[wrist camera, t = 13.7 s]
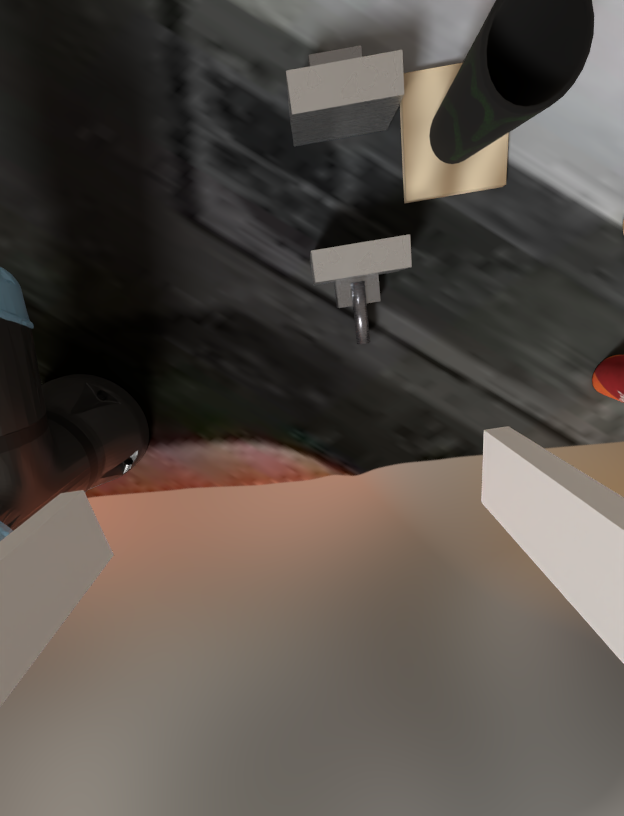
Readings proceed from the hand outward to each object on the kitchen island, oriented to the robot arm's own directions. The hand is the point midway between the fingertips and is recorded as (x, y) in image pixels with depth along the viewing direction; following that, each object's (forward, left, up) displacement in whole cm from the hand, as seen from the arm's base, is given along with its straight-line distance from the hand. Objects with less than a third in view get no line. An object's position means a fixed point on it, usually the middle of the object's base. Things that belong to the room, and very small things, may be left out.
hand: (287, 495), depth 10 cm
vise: (+8, +14, -32) cm, 35 cm away
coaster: (+20, +20, -32) cm, 42 cm away
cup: (+20, +20, -31) cm, 42 cm away
